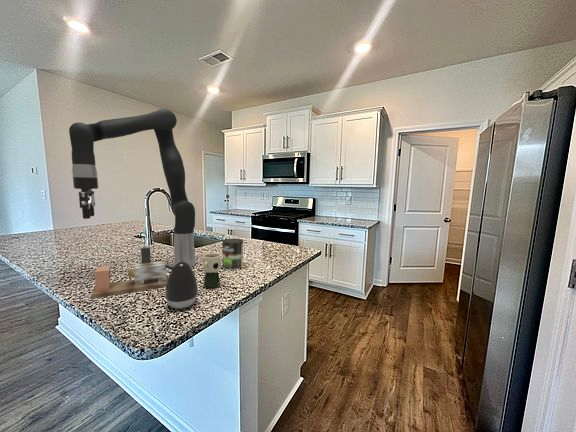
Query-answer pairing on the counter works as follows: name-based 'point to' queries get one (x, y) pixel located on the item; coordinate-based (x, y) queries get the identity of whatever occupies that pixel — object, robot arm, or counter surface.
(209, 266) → the character mug
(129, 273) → the gold and grey t-piece
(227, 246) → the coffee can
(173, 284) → the dark grey egg-shaped piece
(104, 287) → the socket block
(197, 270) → the counter surface
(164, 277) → the sleeve stand
